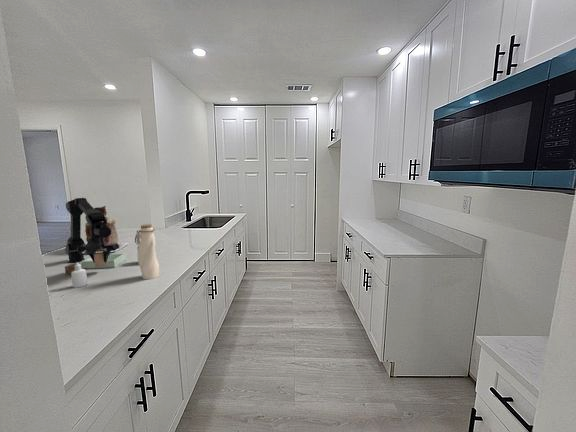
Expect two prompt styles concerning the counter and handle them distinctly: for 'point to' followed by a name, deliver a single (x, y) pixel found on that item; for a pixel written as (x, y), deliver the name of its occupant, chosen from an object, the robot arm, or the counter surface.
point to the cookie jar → (110, 239)
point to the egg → (99, 259)
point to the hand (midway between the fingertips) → (100, 262)
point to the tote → (111, 262)
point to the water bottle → (147, 252)
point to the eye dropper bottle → (79, 276)
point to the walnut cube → (70, 268)
